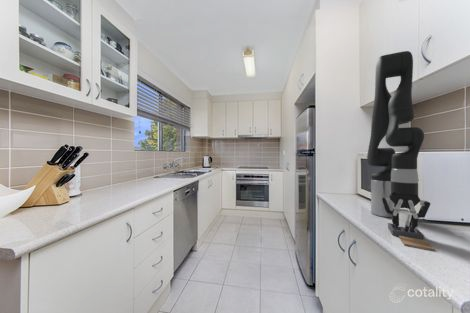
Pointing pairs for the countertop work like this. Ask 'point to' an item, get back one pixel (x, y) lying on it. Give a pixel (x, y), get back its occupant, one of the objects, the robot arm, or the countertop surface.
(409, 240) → the pad
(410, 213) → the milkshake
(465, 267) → the countertop surface
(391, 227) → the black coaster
